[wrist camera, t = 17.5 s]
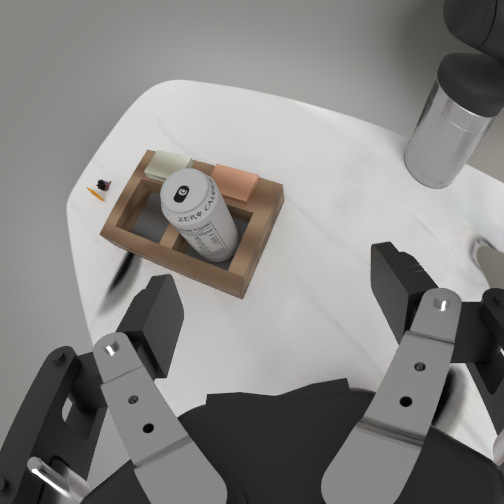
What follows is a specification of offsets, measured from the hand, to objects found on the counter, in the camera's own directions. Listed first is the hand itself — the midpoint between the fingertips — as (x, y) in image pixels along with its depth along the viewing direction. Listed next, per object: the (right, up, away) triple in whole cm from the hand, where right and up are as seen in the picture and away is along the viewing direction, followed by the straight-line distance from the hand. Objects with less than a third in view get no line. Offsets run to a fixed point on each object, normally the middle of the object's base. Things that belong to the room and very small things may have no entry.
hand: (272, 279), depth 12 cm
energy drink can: (-5, +2, +31) cm, 31 cm away
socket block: (-9, +5, +33) cm, 34 cm away
